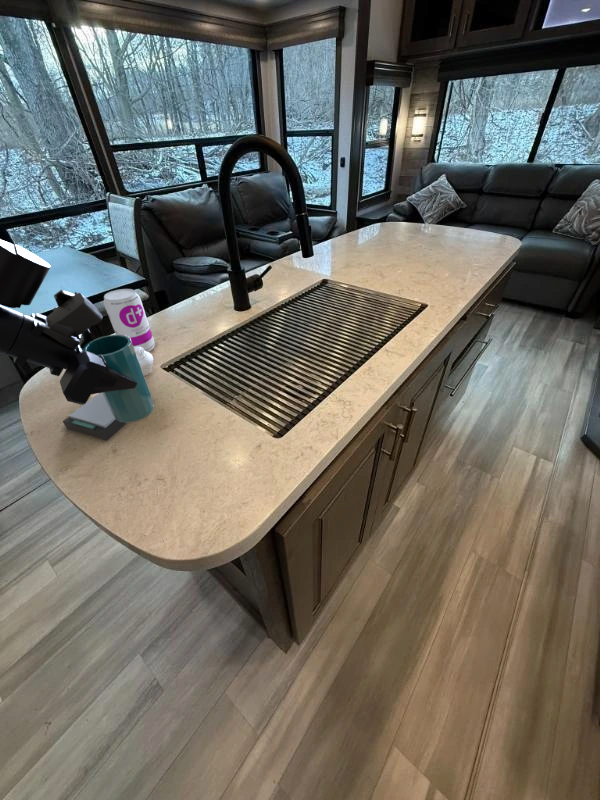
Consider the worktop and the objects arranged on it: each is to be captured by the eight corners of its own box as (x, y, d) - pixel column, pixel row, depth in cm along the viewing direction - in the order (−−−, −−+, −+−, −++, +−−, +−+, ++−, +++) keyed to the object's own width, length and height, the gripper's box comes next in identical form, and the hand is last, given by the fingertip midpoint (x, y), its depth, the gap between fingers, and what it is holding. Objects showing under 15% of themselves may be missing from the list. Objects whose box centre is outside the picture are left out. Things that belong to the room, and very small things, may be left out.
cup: (137, 426, 55) (108, 359, 47) (105, 418, 57) (72, 352, 49) (162, 402, 60) (140, 337, 52) (131, 395, 62) (106, 332, 54)
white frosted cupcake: (143, 382, 77) (134, 356, 72) (124, 376, 79) (113, 350, 74) (163, 369, 81) (154, 343, 76) (144, 363, 83) (135, 338, 79)
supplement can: (160, 349, 89) (143, 294, 79) (130, 360, 84) (108, 303, 75) (148, 338, 93) (130, 285, 84) (118, 349, 89) (96, 294, 80)
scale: (107, 440, 62) (101, 430, 60) (67, 429, 65) (60, 419, 63) (149, 402, 71) (146, 392, 69) (112, 393, 73) (108, 384, 72)
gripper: (52, 303, 36) (175, 358, 48) (36, 263, 48) (138, 315, 60) (5, 387, 37) (136, 420, 49) (1, 328, 49) (108, 366, 61)
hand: (130, 375), depth 55 cm, fingers closed on cup, 7 cm apart
